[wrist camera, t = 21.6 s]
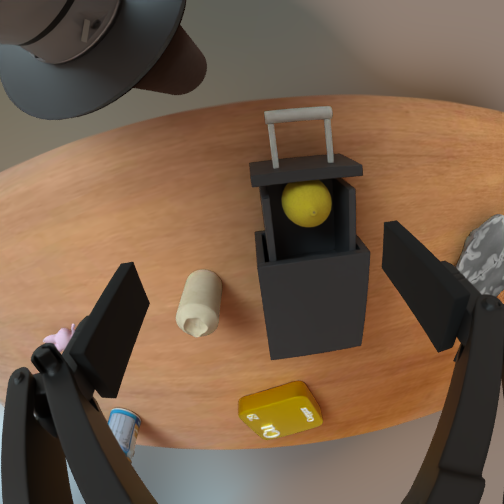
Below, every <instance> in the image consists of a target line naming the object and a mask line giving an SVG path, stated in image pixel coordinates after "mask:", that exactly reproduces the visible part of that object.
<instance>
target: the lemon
mask: <svg viewBox="0 0 504 504" xmlns="http://www.w3.org/2000/svg"><path fill="white" fill-rule="evenodd" d="M281 200H282V207H283V210H284V212H285V214H286V215H287V217H288V218H289V219H290V220H291V221H292V222H294V223H295V224H297V225H299V226H302V227H314V226H318V225H319V224H321V223H323V222H324V221H325V220H326V219H327V217H328V216H329V214H330V211H331V205H332V201H331V195H330V193H329V191H328V189H327V187H326V186H325V185H324V184H323V183H322V182H321V181H320V180H311V181H301V182H292V183H288V184H287V185H286V186H285V188H284V190H283V193H282V198H281Z"/></svg>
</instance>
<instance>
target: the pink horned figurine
mask: <svg viewBox="0 0 504 504" xmlns="http://www.w3.org/2000/svg"><path fill="white" fill-rule="evenodd" d="M74 327H75V325H74V324H72V328H71V329H72V331H70V330H69V329H68V328H61V329H60V331H59V332H58V333H57V334H54V335H50V336H48V337H46V338H44V339H43V342H45V343H55V344H54V345H55V346H56V348H57V349H58V351H59V352H61V351H62V350H65V348H66V346H67V344H68V342H69V341H70V339H71V338H72V335H73V333H74V332H75V330H74Z"/></svg>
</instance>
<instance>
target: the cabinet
mask: <svg viewBox="0 0 504 504" xmlns="http://www.w3.org/2000/svg"><path fill="white" fill-rule="evenodd" d="M255 243H256V256H257V269H258V275H259V282H260V289H261V296H262V303H263V309H264V316H265V323H266V330H267V337H268V344H269V351H270V357H271V360H277V359H285V358H292V357H299V356H306V355H312V354H318V353H324V352H330V351H336V350H341V349H346V348H351V347H356V346H361V344H362V337H363V329H364V321H365V312H366V302H367V292H368V280H369V266H370V251H369V250H368V248H367V247H366V246H365V244H364V243H363V242H362V241H361V239H360V238H359V237H358V236H357V234H356V250H353V251H346V252H339V253H332V254H325V255H317V256H310V257H303V258H295V259H288V260H280V261H273V262H269V259H268V251H267V243H266V235H265V231H258V232H255Z"/></svg>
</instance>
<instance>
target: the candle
mask: <svg viewBox="0 0 504 504" xmlns="http://www.w3.org/2000/svg"><path fill="white" fill-rule="evenodd" d="M221 295H222V282H221V280H220V278H219V277H218V276H217V275H216V274H215V273H214V272H212V271H209V270H197V271H194V272H193V273H191V274H190V275H189V277H188V278H187V281H186V284H185V287H184V290H183V293H182V297H181V300H180V303H179V307H178V310H177V314H176V322H177V324H178V326H179V327H180V328H181V330H183V331H184V332H185V333H187V334H189V335H192V336H194V337H201V336H207V335H209V334H211V333H213V332H214V331H215V330H216V329H217V327H218V322H219V313H220V304H221Z"/></svg>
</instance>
